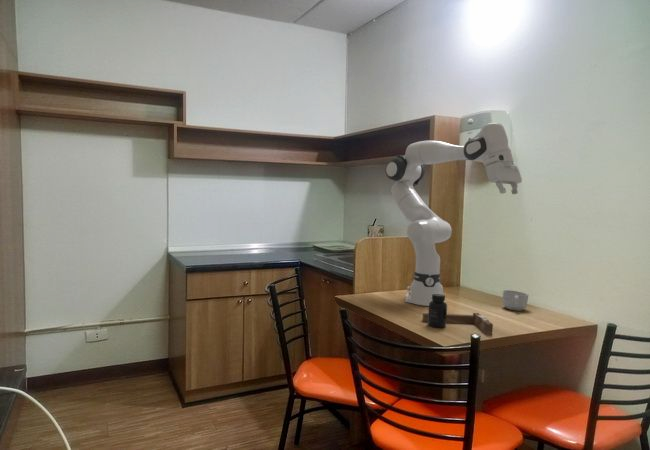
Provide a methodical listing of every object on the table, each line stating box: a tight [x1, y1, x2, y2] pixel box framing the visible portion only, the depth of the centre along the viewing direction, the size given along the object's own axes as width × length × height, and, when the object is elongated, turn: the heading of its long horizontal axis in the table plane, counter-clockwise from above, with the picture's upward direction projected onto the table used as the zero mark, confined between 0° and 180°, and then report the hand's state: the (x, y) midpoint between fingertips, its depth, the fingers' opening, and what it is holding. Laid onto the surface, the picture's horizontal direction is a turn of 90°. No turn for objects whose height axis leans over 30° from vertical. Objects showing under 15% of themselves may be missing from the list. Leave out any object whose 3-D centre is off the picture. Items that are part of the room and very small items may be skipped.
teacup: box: [502, 289, 529, 312], centre depth 207 cm, size 14×11×8 cm
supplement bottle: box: [427, 294, 448, 329], centre depth 175 cm, size 7×7×12 cm
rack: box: [422, 312, 494, 336], centre depth 174 cm, size 16×22×4 cm
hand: (509, 193), depth 181 cm, fingers open, 8 cm apart
